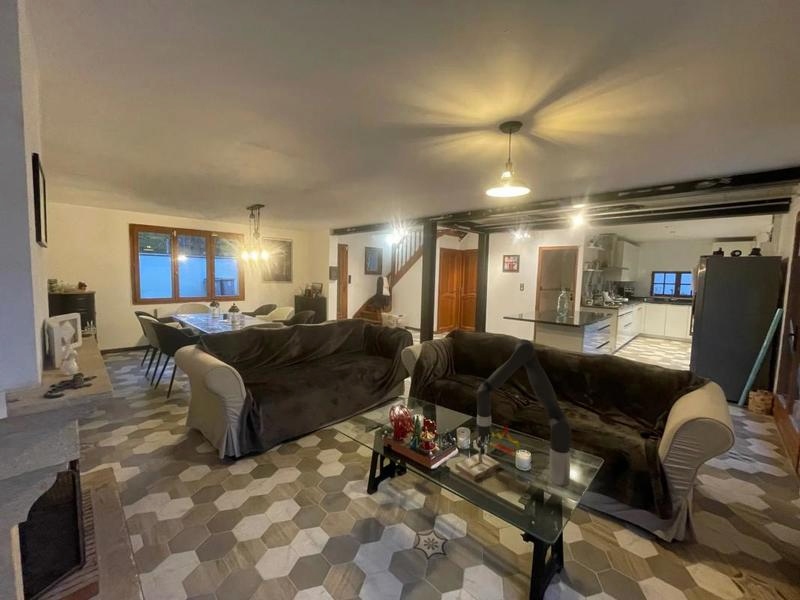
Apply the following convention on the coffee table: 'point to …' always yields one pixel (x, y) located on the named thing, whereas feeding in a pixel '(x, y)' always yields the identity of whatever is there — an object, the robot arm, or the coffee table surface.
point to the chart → (502, 445)
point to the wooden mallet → (479, 453)
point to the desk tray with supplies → (477, 466)
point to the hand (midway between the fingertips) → (483, 452)
